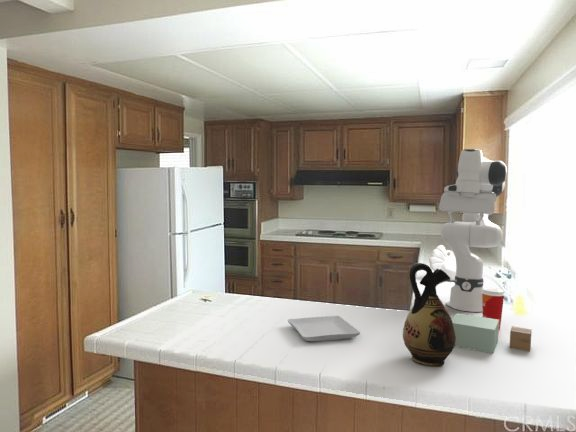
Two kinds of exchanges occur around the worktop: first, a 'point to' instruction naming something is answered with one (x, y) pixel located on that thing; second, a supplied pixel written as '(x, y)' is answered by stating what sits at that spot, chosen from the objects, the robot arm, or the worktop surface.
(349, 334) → the salad plate
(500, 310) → the coffee cup
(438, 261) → the decorative rooster
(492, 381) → the worktop surface
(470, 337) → the sage box
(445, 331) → the ceramic jug
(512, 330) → the walnut block
